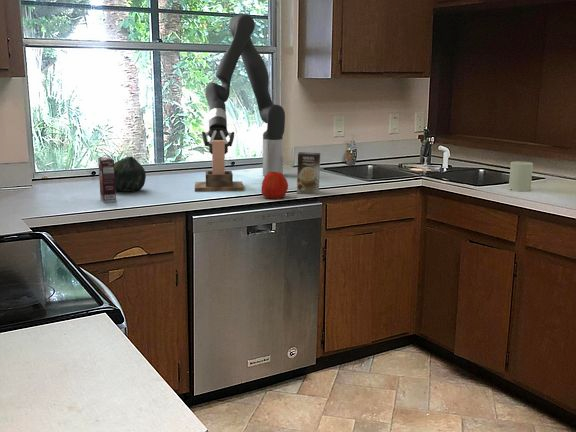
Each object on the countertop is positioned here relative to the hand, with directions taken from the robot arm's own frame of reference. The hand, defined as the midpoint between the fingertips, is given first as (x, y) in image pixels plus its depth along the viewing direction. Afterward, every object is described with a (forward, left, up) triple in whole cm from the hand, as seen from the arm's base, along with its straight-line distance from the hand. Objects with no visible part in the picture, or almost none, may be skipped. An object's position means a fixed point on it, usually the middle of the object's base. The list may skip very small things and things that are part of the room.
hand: (218, 152), depth 263 cm
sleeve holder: (0, -2, -15) cm, 15 cm away
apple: (-21, +20, -15) cm, 33 cm away
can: (-128, +9, -15) cm, 129 cm away
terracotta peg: (0, -2, -9) cm, 9 cm away
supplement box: (+42, +22, -15) cm, 50 cm away
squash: (+37, +2, -15) cm, 40 cm away
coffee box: (-36, +10, -15) cm, 41 cm away
